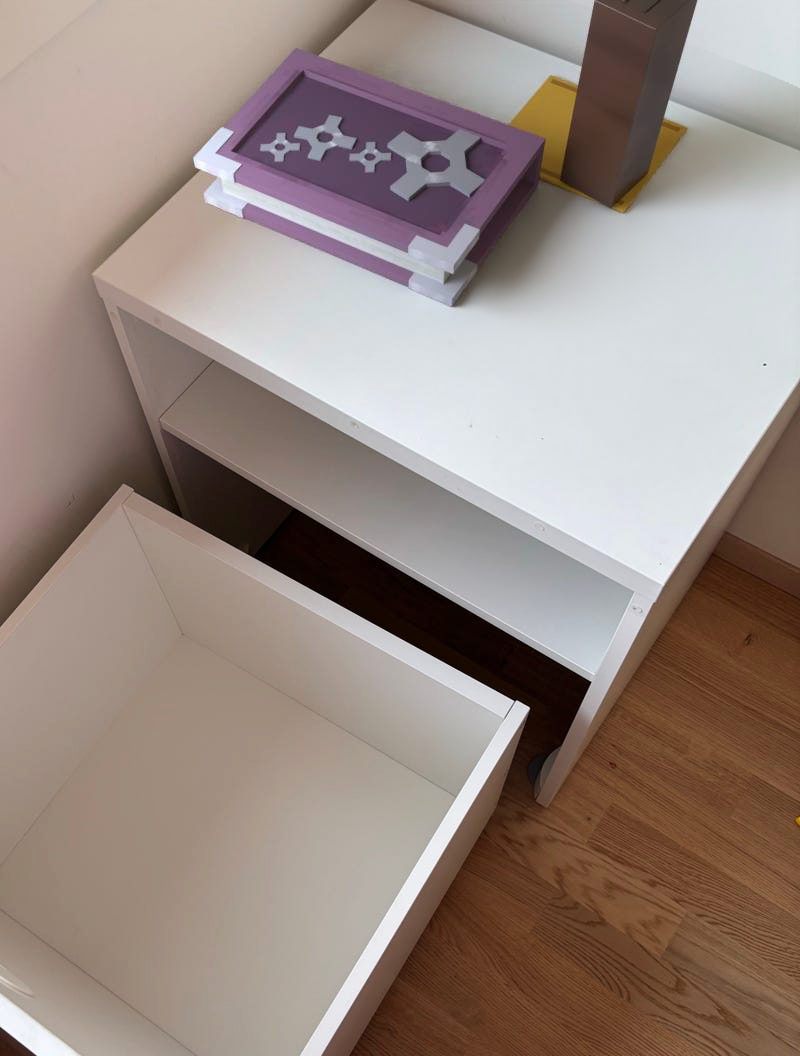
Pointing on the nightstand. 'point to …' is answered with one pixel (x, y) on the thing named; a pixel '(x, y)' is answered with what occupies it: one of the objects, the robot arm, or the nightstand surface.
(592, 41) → the knife block
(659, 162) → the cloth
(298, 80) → the book
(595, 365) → the nightstand surface
